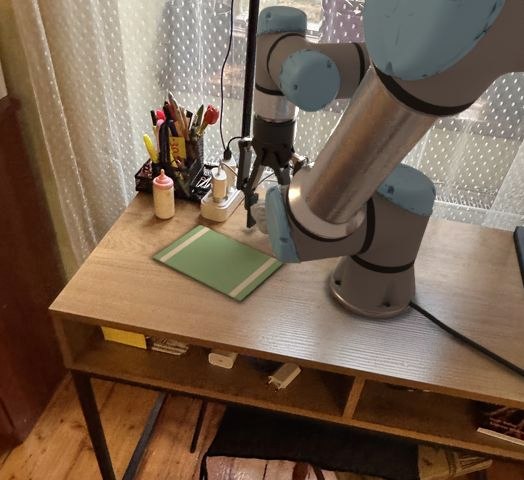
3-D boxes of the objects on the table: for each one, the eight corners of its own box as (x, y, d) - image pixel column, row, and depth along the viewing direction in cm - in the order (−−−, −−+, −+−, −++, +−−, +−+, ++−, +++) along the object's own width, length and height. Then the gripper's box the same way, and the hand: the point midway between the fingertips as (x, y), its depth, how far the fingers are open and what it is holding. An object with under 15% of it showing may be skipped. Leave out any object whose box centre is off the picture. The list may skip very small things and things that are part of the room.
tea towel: (283, 263, 102) (283, 262, 102) (240, 302, 94) (240, 300, 94) (200, 226, 109) (200, 224, 109) (153, 258, 101) (152, 256, 101)
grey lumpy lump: (248, 224, 110) (249, 193, 105) (282, 224, 110) (285, 193, 106) (250, 241, 105) (252, 209, 100) (285, 241, 106) (289, 209, 101)
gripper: (336, 123, 90) (318, 240, 107) (241, 93, 97) (238, 207, 114) (314, 137, 86) (298, 257, 102) (216, 105, 93) (216, 222, 109)
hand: (266, 231), depth 108 cm, fingers closed on grey lumpy lump, 6 cm apart
